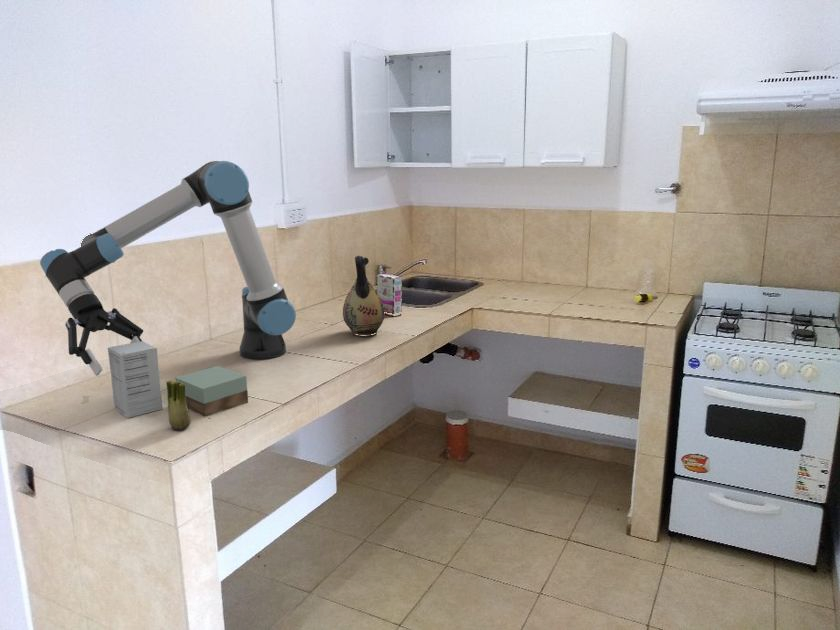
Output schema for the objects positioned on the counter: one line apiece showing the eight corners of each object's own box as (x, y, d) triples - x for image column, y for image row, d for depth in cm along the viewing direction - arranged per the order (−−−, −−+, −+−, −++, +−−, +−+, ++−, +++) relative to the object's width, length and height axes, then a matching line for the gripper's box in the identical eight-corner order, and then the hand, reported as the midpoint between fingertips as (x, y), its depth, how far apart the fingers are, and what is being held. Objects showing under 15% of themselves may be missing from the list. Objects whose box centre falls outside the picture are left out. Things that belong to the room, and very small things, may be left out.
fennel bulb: (167, 426, 159) (162, 379, 156) (187, 421, 162) (183, 376, 159) (173, 434, 154) (169, 386, 151) (194, 429, 157) (190, 382, 154)
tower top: (219, 379, 182) (218, 365, 181) (247, 390, 174) (246, 375, 173) (176, 391, 172) (175, 377, 171) (204, 403, 164) (202, 389, 163)
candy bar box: (402, 315, 271) (402, 276, 267) (393, 317, 268) (393, 278, 264) (385, 310, 279) (385, 273, 275) (376, 312, 276) (376, 274, 272)
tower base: (220, 392, 183) (219, 379, 182) (248, 404, 175) (247, 390, 174) (178, 406, 173) (176, 391, 172) (205, 418, 165) (204, 404, 164)
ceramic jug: (346, 328, 250) (345, 251, 243) (386, 328, 250) (386, 251, 242) (339, 340, 234) (337, 258, 226) (382, 341, 233) (381, 258, 226)
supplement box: (163, 409, 169) (158, 347, 165) (127, 419, 163) (120, 355, 158) (148, 399, 175) (143, 340, 171) (113, 408, 169) (106, 346, 165)
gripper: (118, 301, 183) (158, 360, 179) (29, 319, 162) (72, 387, 158) (128, 284, 179) (169, 345, 176) (39, 301, 158) (83, 370, 154)
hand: (123, 365), depth 167 cm, fingers open, 13 cm apart
